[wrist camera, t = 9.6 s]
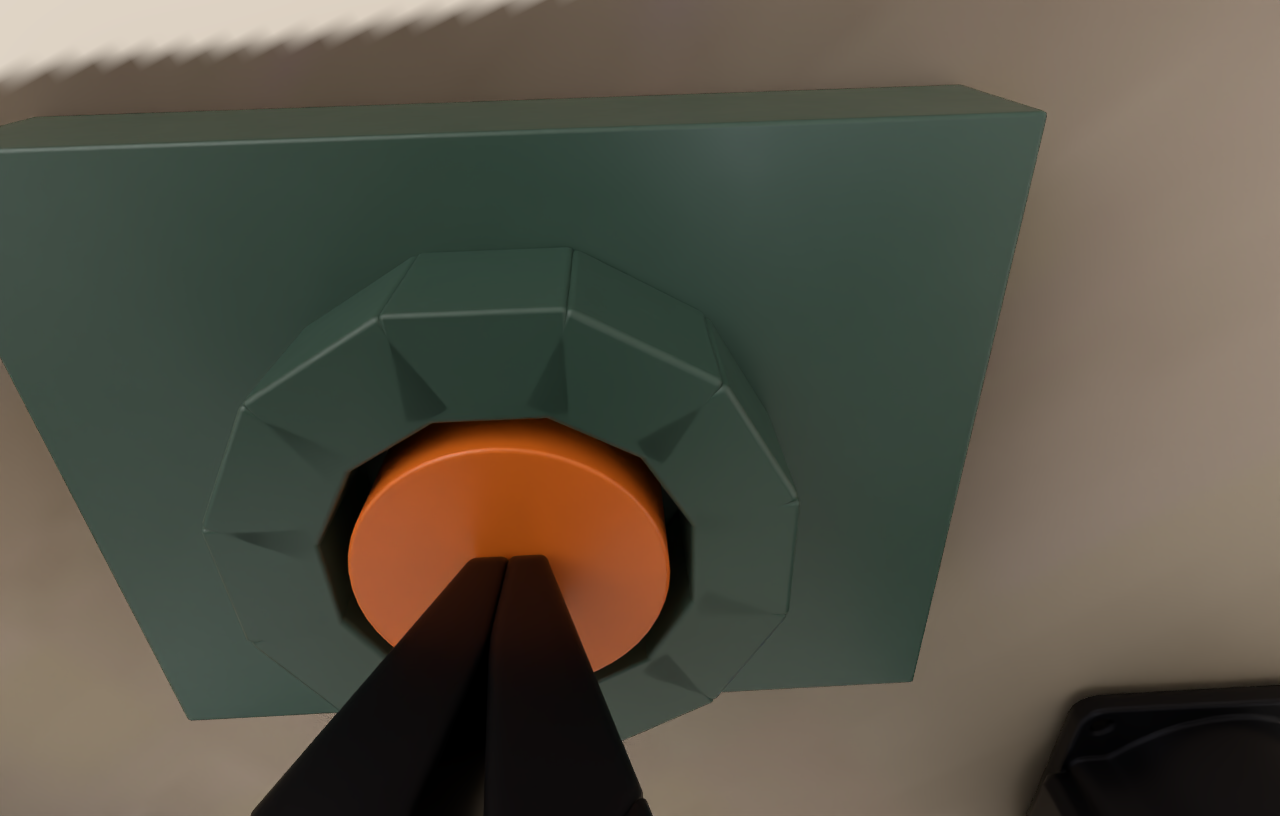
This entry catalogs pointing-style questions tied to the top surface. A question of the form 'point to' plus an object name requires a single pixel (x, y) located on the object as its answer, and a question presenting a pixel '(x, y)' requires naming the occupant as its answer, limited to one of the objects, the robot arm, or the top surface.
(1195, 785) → the robot arm
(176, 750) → the top surface
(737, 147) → the control block
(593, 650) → the button
